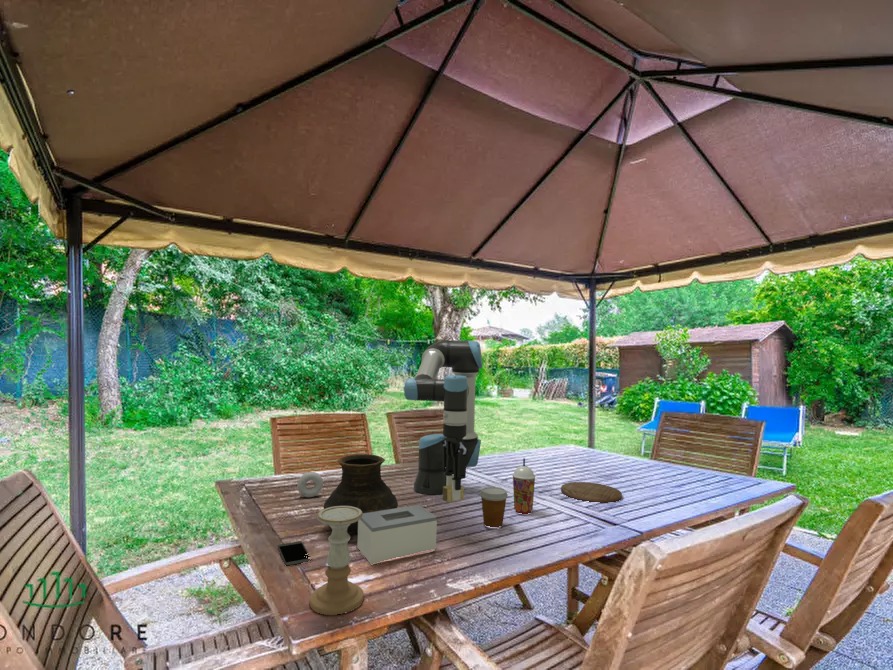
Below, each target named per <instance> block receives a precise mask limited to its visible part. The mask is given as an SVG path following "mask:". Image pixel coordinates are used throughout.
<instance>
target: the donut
mask: <svg viewBox="0 0 893 670" xmlns="http://www.w3.org/2000/svg"><path fill="white" fill-rule="evenodd" d="M310 481H312V482H314V485H313V486H312V487H311V488H308V487H307V483H308V482H310ZM296 486H297V487H296V488H297V491H298V492H299V493H298V494H300V495H301V496H302V497H305V498H313V497H316V496H317V495H319V494H320V493H321V491H322V489H323V487H324V480H323V477H322V476H321V474H319V473H318V472H315V471H308V472H305V473H303V474H302V475H301V476H300V477H299V479H298V480H297V484H296Z"/></svg>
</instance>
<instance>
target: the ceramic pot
mask: <svg viewBox="0 0 893 670" xmlns="http://www.w3.org/2000/svg"><path fill="white" fill-rule="evenodd" d="M385 461H386V458H384V457H382V456H380V455H376V454H370V453H369V454H368V453H367V454H366V453H362V454H356V453H355V454H351V455H350V454H349V455H345V456H342V457H341V458H339V459H338V461H337V463H338V464H339V465H340V466H341V471H342V472H341V479H340V480H341V481H340V482H339V484H337V487H336V488H335V489H334V490H333V491H332V492H331V493H330V495H329V496H328V498H327V499H326V500H325V502H324V503H323V509H326V508H329V507H334V506H352V507H356V508H359V509H361V510H362V512H363V513H369V512H376V511H382V510H389V509H395V508H399V504H398V500H397V497H396V495H394V494H393V491H392V489H391V488H390V487H389V486H388V485H387V484H386V483H385V481H384V480H383V479H382V473H381V470H382V469H381V468H382V467H381V466H382V464H384V463H385ZM347 531H349V532H354V533H358V521H357V522H354V523H351V524H350V525H349V526H348V528H347Z"/></svg>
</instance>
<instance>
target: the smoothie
mask: <svg viewBox="0 0 893 670" xmlns="http://www.w3.org/2000/svg"><path fill="white" fill-rule="evenodd" d="M522 461H523V463H522V464H523V465H520V466H518V467H517V468H516V469H515V470H514V472H513V474H512V484H513V485H512V487H513V488H512V489H513V491H512V492H513V508H514V510H515V513H516V512H518V513H522V514H528V513H531V514H532V511H533V510H534V509H533V508H534V507H533V506H534V495H535V484H536V483H535V482H536V475H535V473H534V471H533V470H532V469H531V467H529V466H528V465H526V458H525V457H523V459H522Z"/></svg>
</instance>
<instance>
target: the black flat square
mask: <svg viewBox="0 0 893 670" xmlns="http://www.w3.org/2000/svg"><path fill="white" fill-rule="evenodd" d="M277 547H278V549H277V551H278V550H279V551H278V553H279V552H280V554H279V555H281V556H280V558H281V557H282V558H281V560H283V561H282V563H283V562H284V563H283V565H284V564H285V565H286V566H290V565H295V566H298V565H297V564H300V565H302V564H301V563H303V562H308V561H309V560H310V559H308V557H311V555H310V553H309V551H308V550H307V548H306V546H305V544H304V543H303V542H302V541H293V542H287V543H286V542H285V543H281V544H280V543H279V544H278V545H277V546H276V548H277ZM307 553H309V554H308V555H310V556H308V555H305V554H307ZM304 556H305V557H304ZM306 556H307V558H306ZM311 560H312V561H313V559H311ZM311 560H310V561H311ZM285 565H284V566H285ZM290 567H291V566H290Z"/></svg>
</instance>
